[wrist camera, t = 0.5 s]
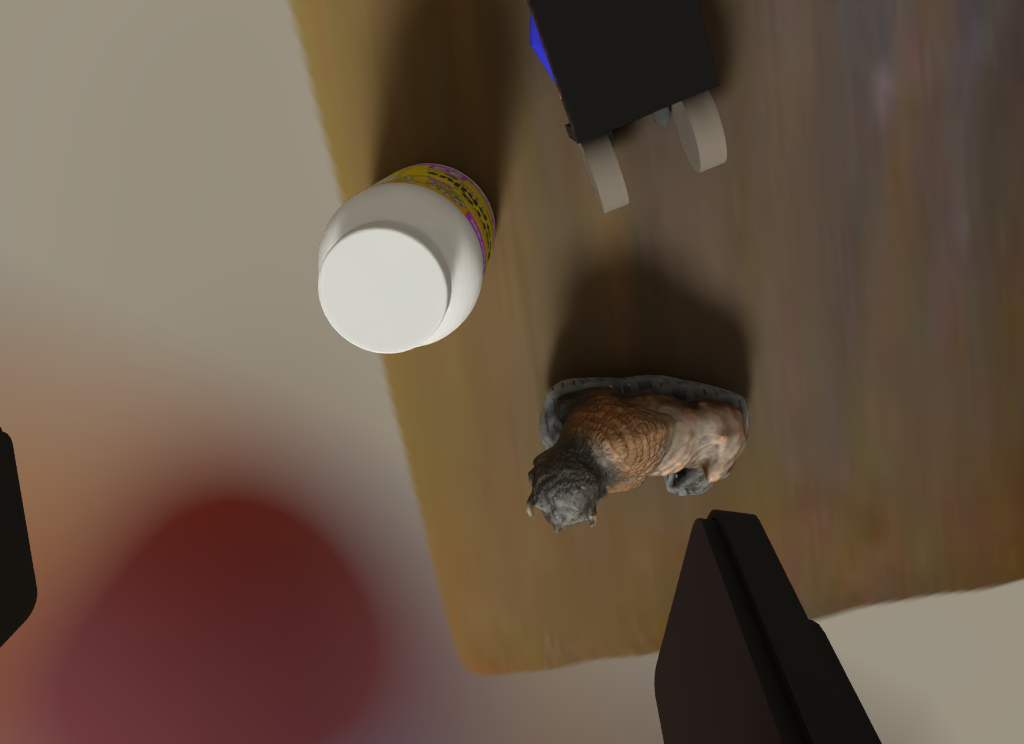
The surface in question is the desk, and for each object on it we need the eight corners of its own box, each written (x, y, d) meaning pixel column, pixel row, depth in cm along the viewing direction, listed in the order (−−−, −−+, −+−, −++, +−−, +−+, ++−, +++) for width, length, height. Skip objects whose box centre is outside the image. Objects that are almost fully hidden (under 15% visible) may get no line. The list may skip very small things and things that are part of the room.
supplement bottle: (520, 246, 37) (512, 323, 26) (418, 311, 39) (366, 412, 27) (448, 133, 35) (402, 159, 24) (343, 206, 37) (250, 266, 25)
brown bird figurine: (747, 361, 39) (811, 448, 30) (731, 472, 42) (786, 583, 33) (529, 357, 40) (527, 441, 30) (528, 467, 42) (525, 576, 33)
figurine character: (709, 137, 36) (610, -209, 30) (755, 171, 30) (642, -267, 23) (585, 190, 38) (463, -132, 31) (602, 234, 31) (452, -166, 24)
